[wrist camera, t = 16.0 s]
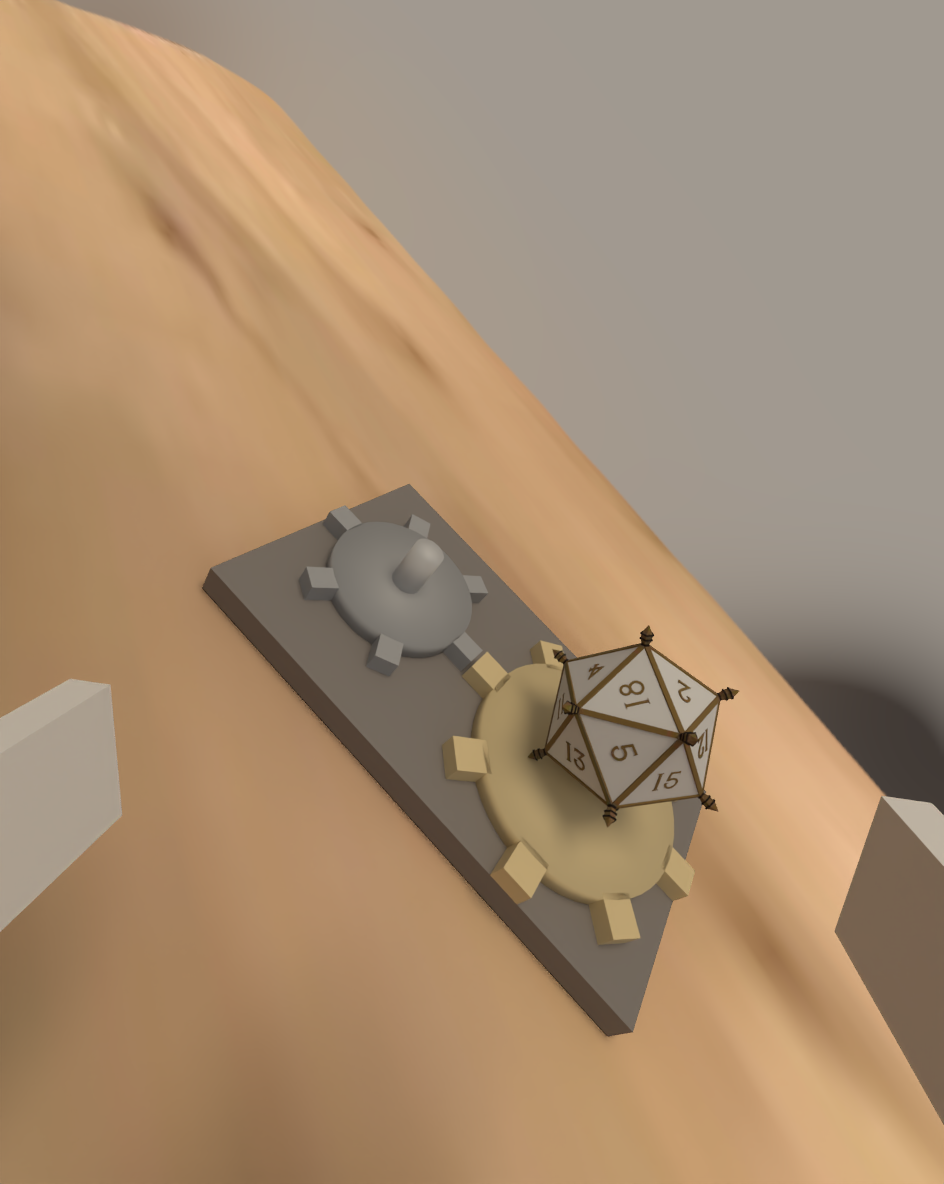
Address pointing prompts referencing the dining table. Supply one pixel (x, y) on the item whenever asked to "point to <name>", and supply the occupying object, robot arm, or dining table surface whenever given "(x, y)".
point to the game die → (633, 727)
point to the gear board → (465, 733)
